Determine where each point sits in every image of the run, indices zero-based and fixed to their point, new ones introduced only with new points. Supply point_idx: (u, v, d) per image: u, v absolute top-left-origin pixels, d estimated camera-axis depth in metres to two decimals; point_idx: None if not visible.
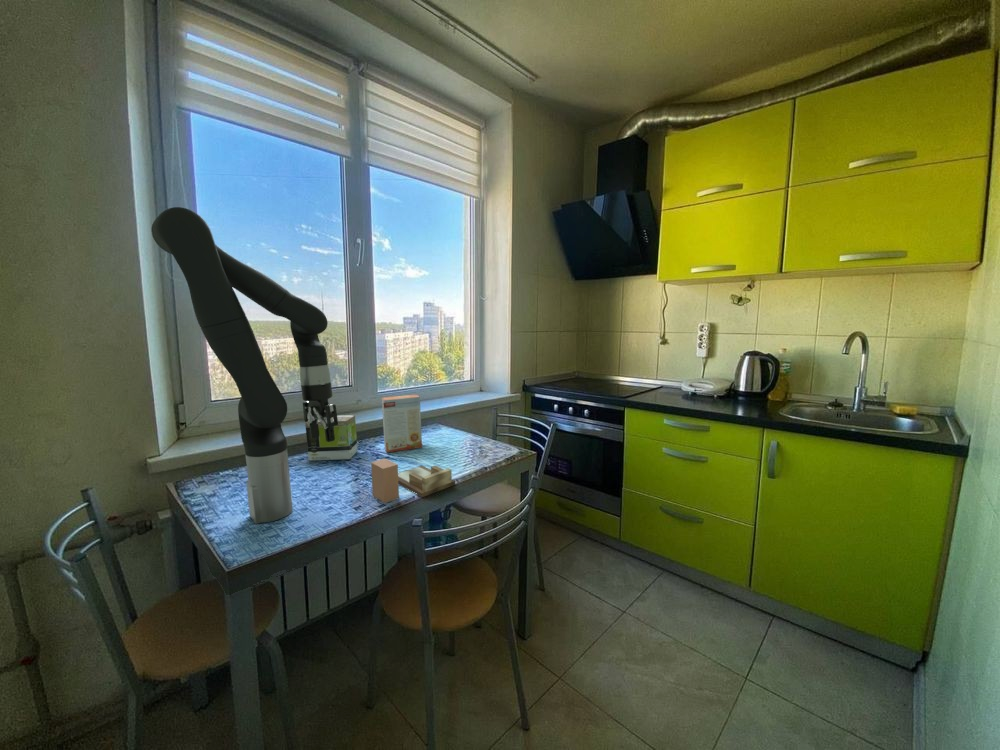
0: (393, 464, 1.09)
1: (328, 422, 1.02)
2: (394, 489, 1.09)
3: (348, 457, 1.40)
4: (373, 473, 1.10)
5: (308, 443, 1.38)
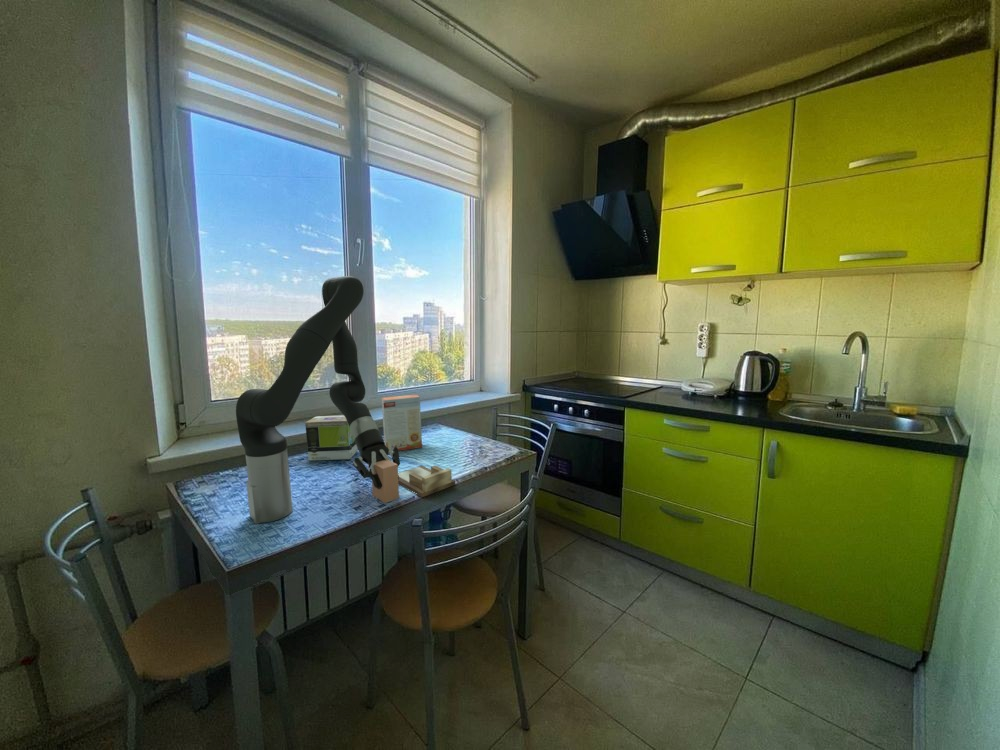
0: (393, 464, 1.08)
1: (398, 461, 1.14)
2: (394, 489, 1.08)
3: (348, 457, 1.40)
4: None
5: (308, 443, 1.38)
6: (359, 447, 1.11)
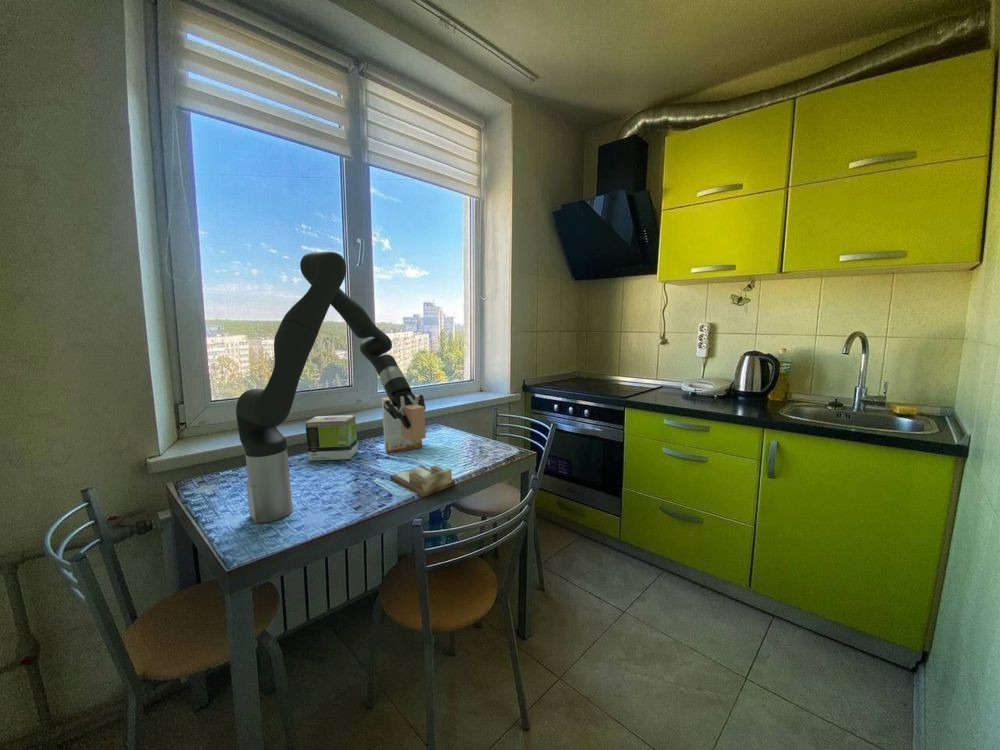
0: (420, 406, 1.19)
1: (423, 406, 1.25)
2: (421, 429, 1.19)
3: (348, 457, 1.40)
4: None
5: (308, 443, 1.38)
6: (389, 392, 1.22)
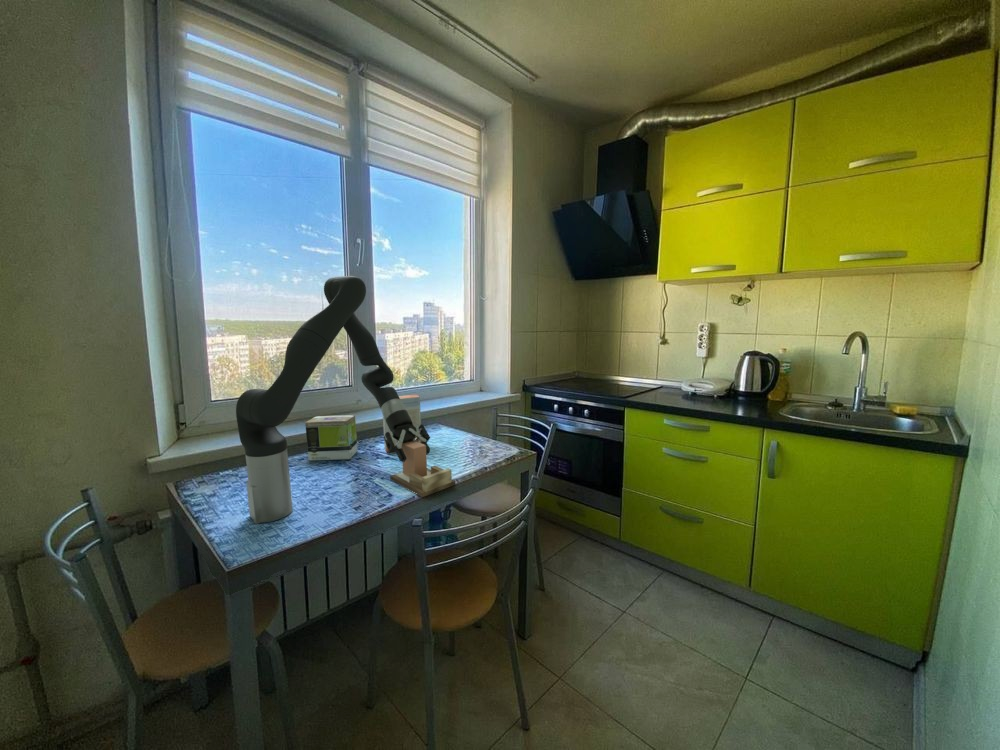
0: (422, 445, 1.21)
1: (427, 435, 1.28)
2: (423, 467, 1.21)
3: (348, 457, 1.40)
4: None
5: (308, 443, 1.38)
6: (390, 426, 1.24)
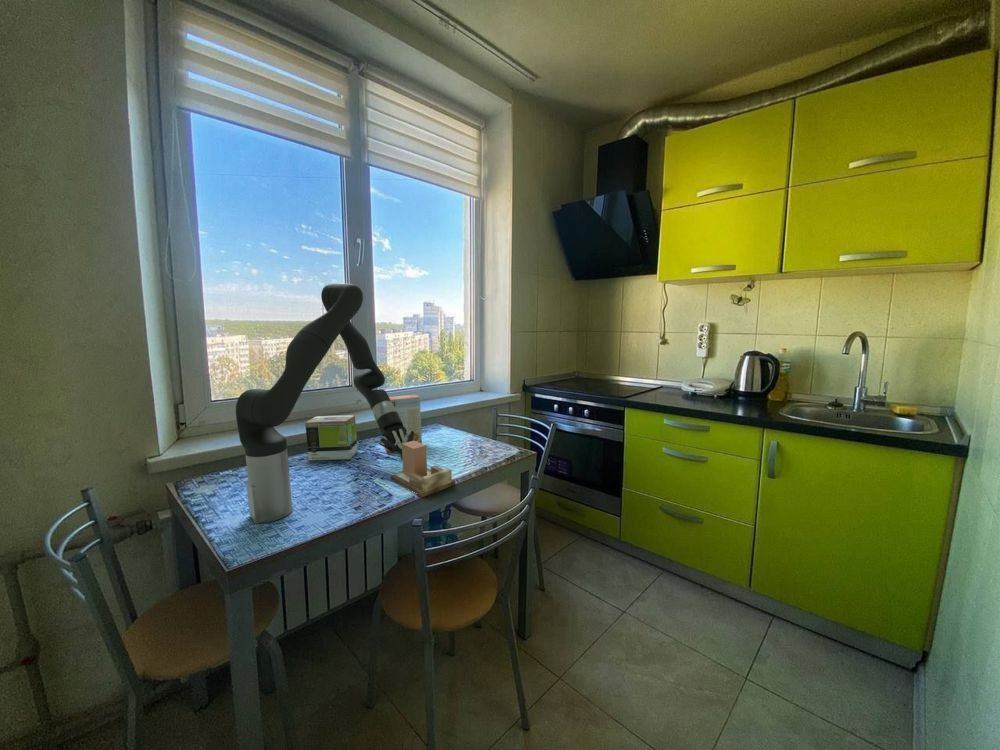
0: (422, 445, 1.21)
1: None
2: (423, 467, 1.21)
3: (348, 457, 1.40)
4: (404, 453, 1.22)
5: (308, 443, 1.38)
6: (381, 427, 1.28)
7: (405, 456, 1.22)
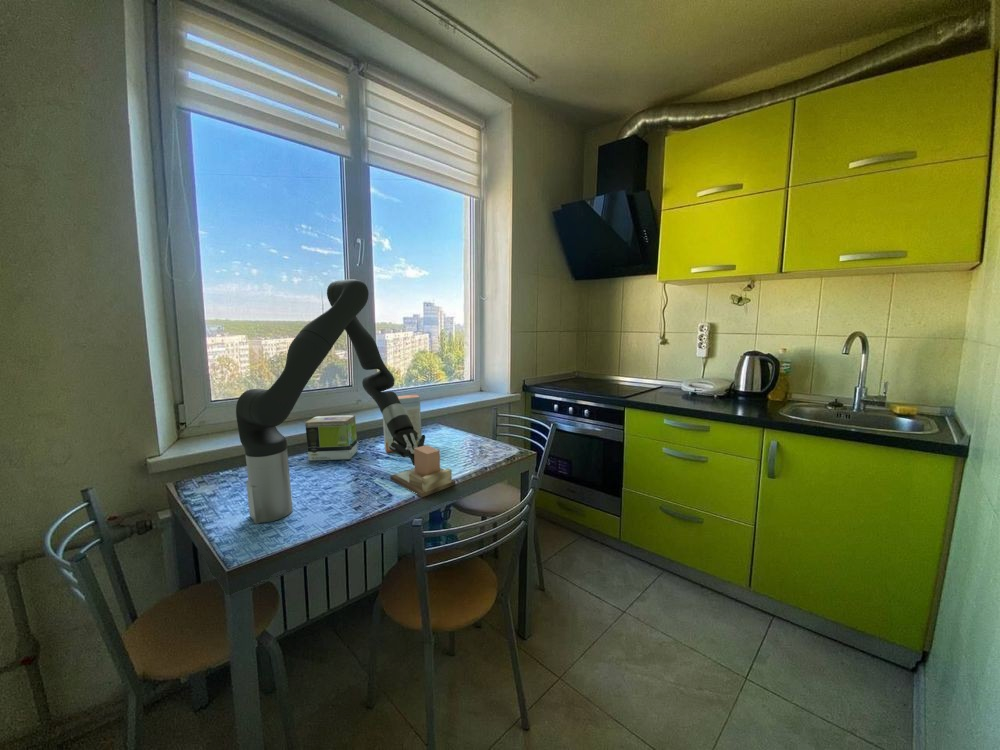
0: (435, 450, 1.16)
1: None
2: None
3: (348, 457, 1.40)
4: (416, 458, 1.18)
5: (308, 443, 1.38)
6: (391, 431, 1.23)
7: (417, 461, 1.17)
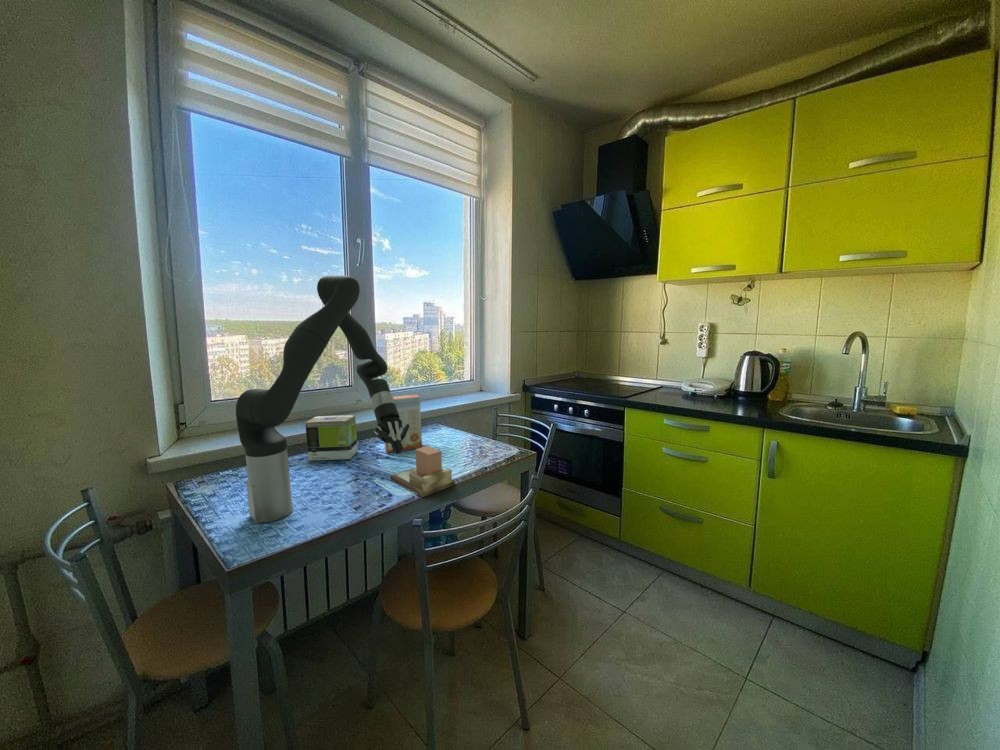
0: (437, 451, 1.16)
1: (404, 434, 1.29)
2: None
3: (348, 457, 1.40)
4: (418, 459, 1.17)
5: (308, 443, 1.38)
6: (377, 417, 1.28)
7: (419, 462, 1.17)
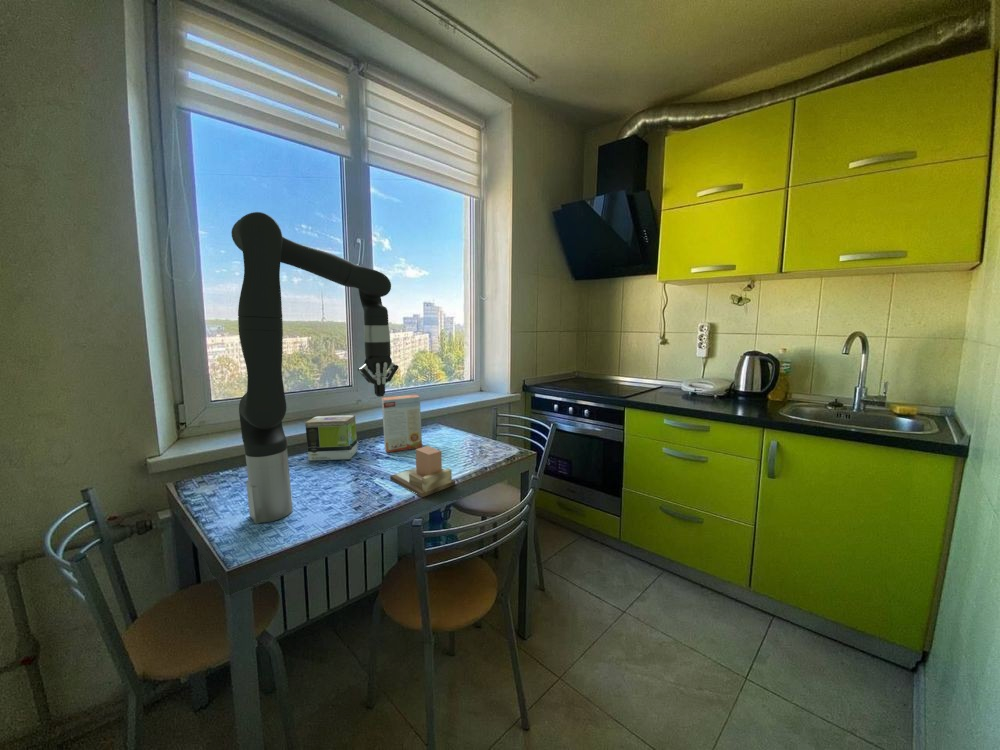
0: (437, 451, 1.16)
1: (390, 378, 1.20)
2: None
3: (348, 457, 1.40)
4: (418, 459, 1.17)
5: (308, 443, 1.38)
6: (367, 353, 1.15)
7: (419, 462, 1.17)
